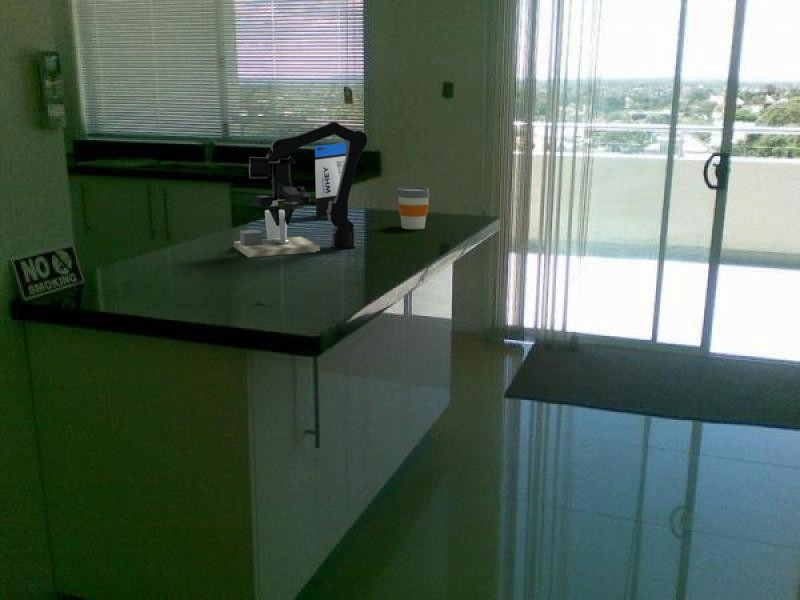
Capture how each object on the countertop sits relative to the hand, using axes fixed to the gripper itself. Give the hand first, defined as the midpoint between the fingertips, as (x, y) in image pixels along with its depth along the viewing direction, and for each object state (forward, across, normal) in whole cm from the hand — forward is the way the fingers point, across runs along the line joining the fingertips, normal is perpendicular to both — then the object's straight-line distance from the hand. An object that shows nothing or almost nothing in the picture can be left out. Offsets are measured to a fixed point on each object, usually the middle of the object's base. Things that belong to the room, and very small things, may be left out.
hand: (282, 225), depth 263 cm
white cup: (+8, +9, +18) cm, 22 cm away
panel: (+8, -2, +1) cm, 8 cm away
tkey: (+6, -2, +1) cm, 6 cm away
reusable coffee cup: (+8, +64, +7) cm, 65 cm away
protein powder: (+8, +53, +47) cm, 72 cm away
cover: (+6, -8, +6) cm, 12 cm away
